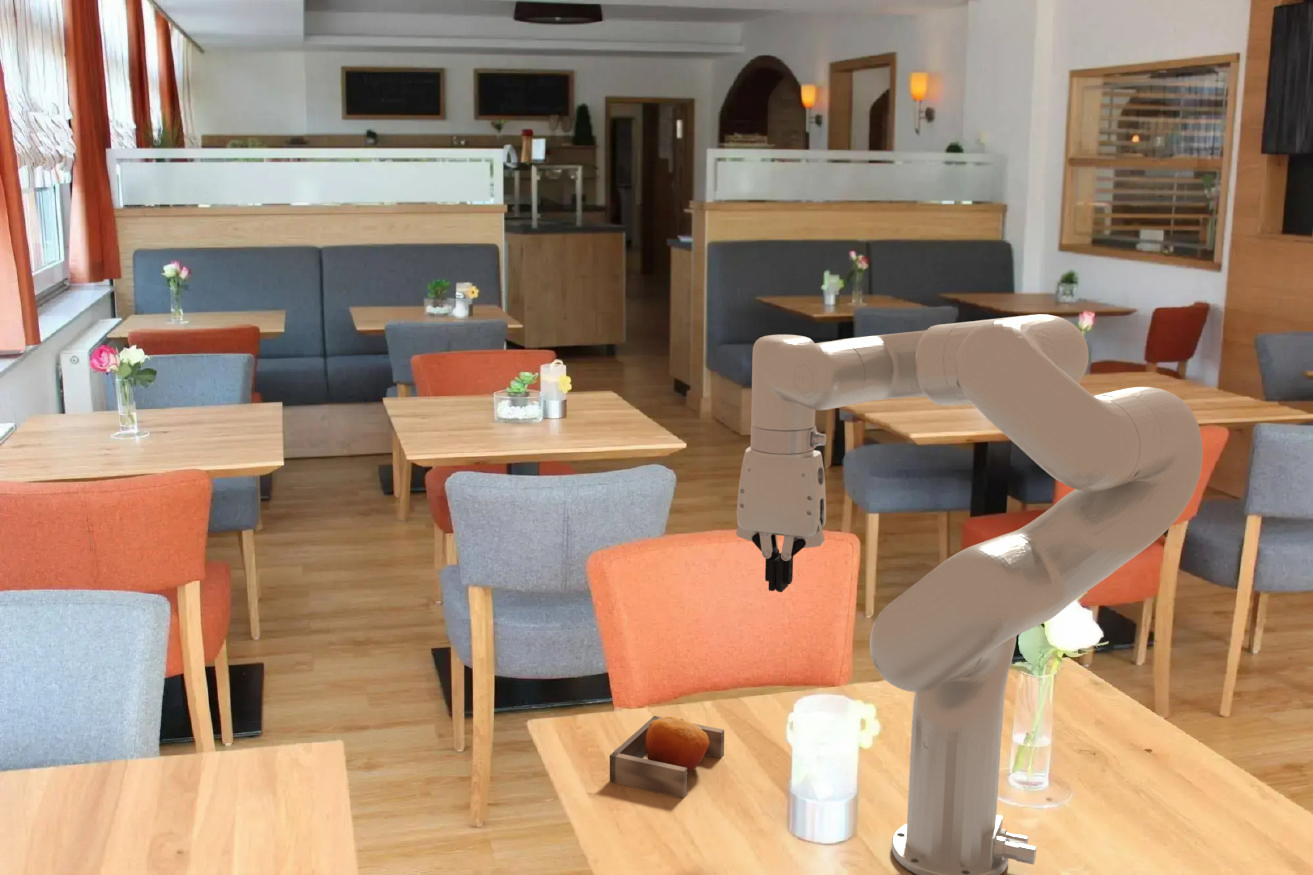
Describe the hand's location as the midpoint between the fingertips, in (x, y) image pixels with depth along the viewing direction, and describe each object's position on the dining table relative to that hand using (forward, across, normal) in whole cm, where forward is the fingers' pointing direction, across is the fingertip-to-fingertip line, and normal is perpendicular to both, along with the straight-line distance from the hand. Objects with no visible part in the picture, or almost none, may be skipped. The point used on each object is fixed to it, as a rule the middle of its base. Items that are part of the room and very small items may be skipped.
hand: (778, 588), depth 156 cm
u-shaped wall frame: (+25, +13, +3) cm, 28 cm away
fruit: (+25, +12, +3) cm, 28 cm away
